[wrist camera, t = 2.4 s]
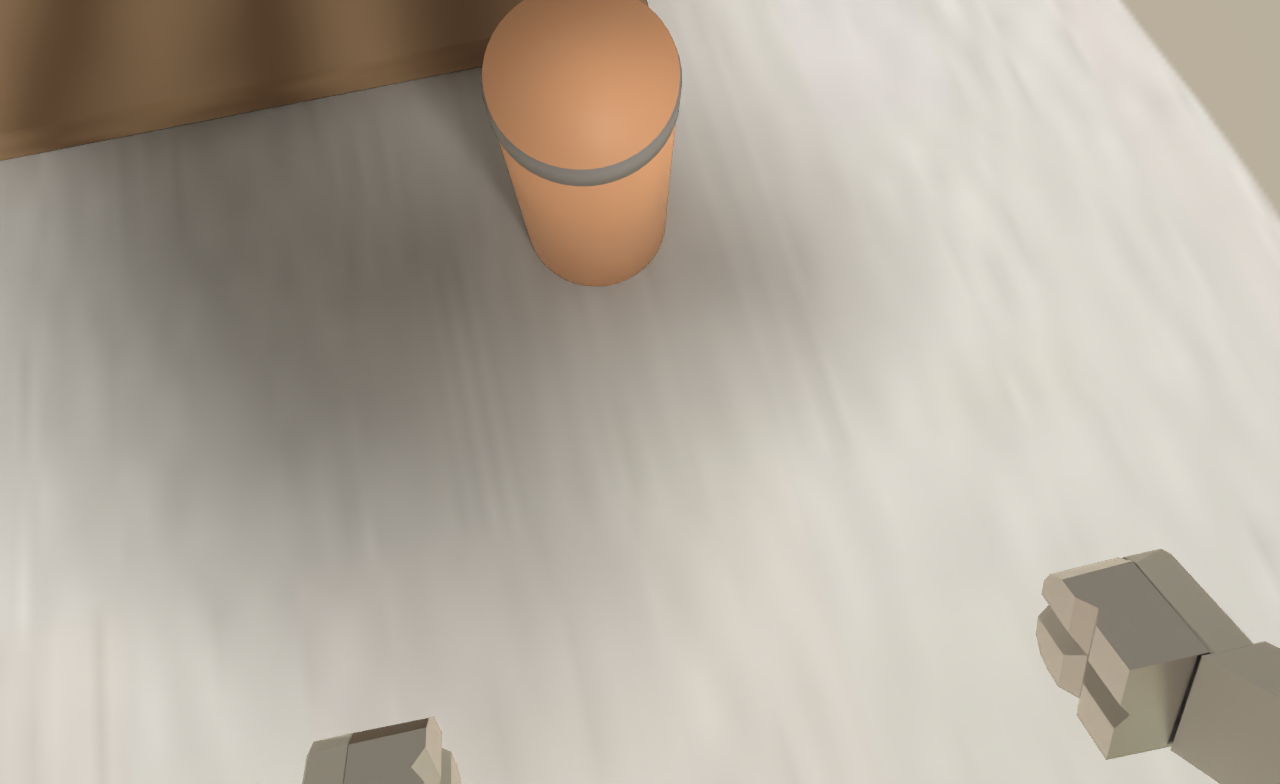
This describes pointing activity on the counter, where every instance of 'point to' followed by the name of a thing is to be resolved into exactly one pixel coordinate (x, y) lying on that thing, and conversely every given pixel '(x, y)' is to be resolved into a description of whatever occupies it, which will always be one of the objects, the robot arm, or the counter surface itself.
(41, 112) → the carrier board
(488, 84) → the hub peg
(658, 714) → the counter surface
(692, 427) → the counter surface
